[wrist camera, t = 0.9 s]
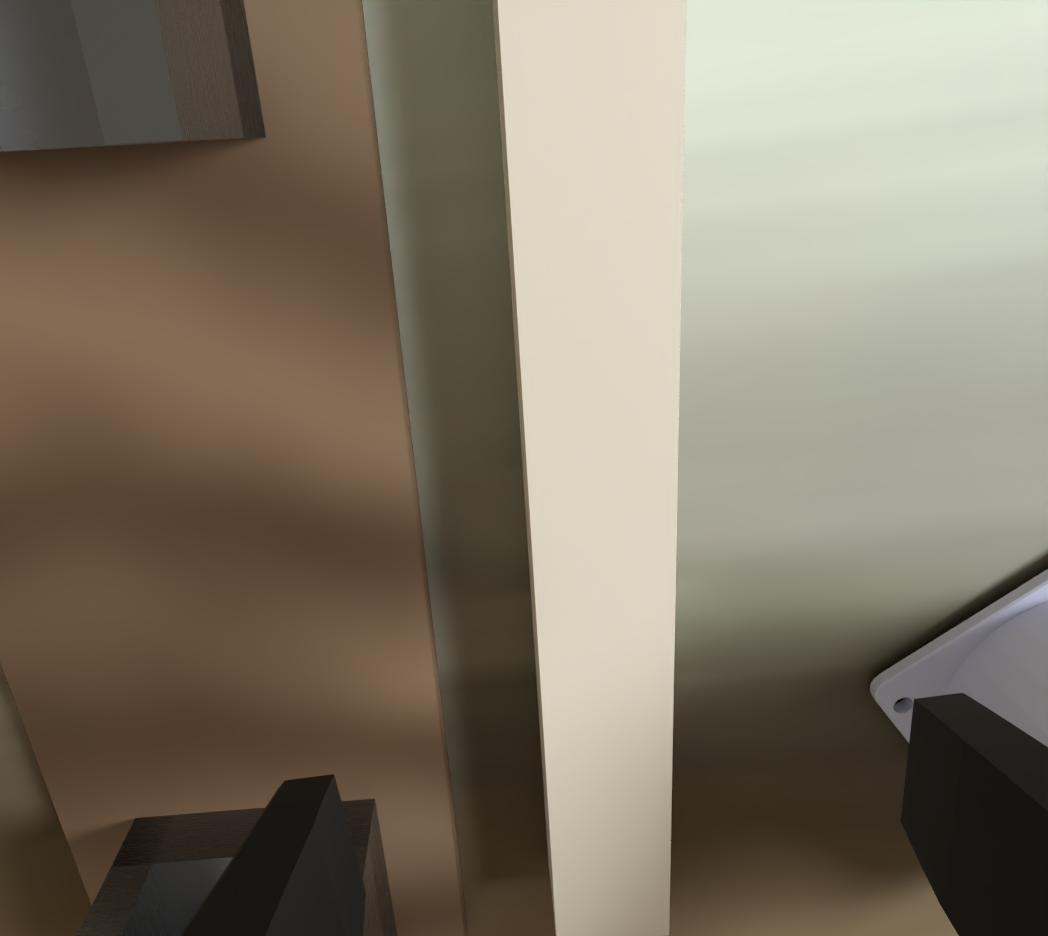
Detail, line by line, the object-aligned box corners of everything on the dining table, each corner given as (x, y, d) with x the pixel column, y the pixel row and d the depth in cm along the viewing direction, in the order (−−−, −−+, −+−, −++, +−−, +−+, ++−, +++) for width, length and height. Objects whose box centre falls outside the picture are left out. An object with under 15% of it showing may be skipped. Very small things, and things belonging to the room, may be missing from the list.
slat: (646, 842, 24) (669, 935, 21) (547, 851, 24) (556, 945, 21) (648, -124, 14) (689, -185, 12) (484, -115, 14) (486, -173, 12)
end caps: (400, 953, 23) (384, 1133, 19) (185, 972, 23) (121, 1157, 19) (195, -287, 12) (52, -502, 8) (-220, -271, 12) (-588, -483, 8)
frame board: (467, 928, 24) (467, 960, 23) (136, 957, 24) (123, 989, 23) (327, -301, 13) (315, -334, 12) (-305, -277, 13) (-366, -309, 12)
